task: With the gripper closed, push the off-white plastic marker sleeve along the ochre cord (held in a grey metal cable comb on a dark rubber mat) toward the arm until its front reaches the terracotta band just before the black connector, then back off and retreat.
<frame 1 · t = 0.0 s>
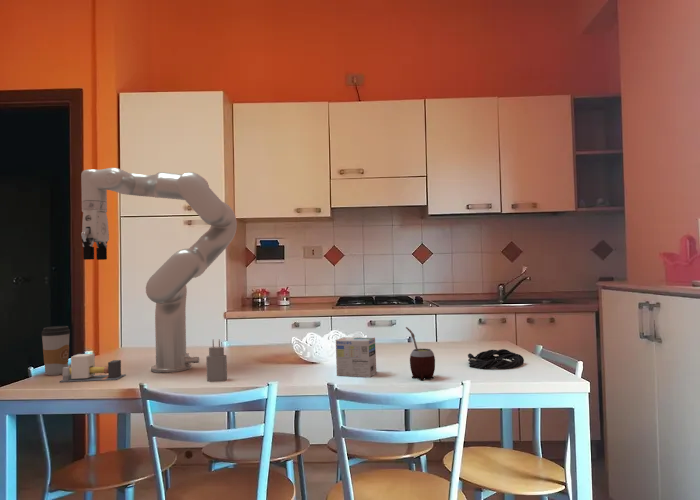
hand: (95, 259, 177), 37 cm above the table, tool pointing down, fingers open, 9 cm apart
coffee cup: (56, 374, 175), on the table
power adapter: (217, 381, 157), on the table
marker sleeve: (83, 366, 165), point 4 cm above the table, slide at 0.0 cm
light bulb box: (356, 375, 160), on the table
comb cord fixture: (91, 378, 165), on the table
mate gourd: (422, 379, 152), on the table
cable: (496, 366, 168), on the table
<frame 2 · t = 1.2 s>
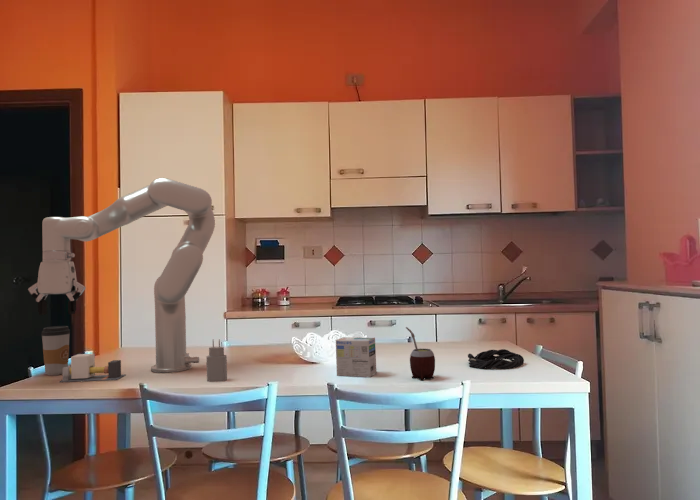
hand: (57, 314, 165), 20 cm above the table, tool pointing down, fingers open, 8 cm apart
nothing on the table moved.
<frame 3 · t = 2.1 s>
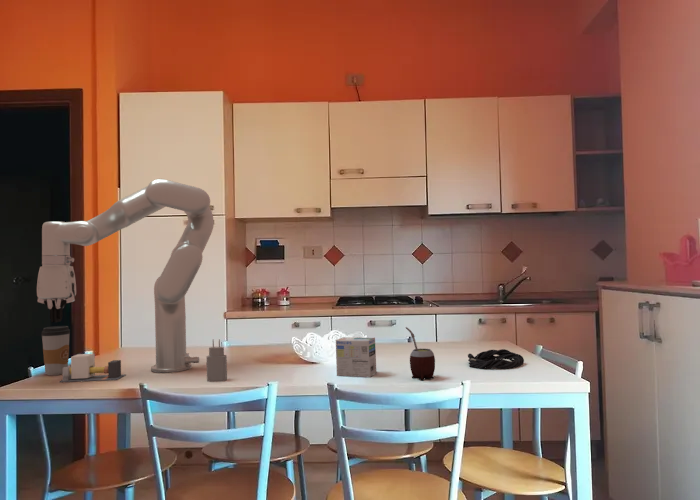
hand: (56, 321, 165), 18 cm above the table, tool pointing down, fingers closed
nothing on the table moved.
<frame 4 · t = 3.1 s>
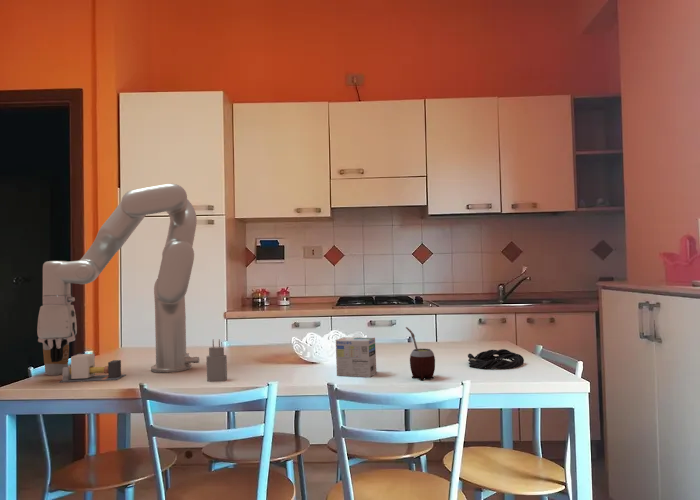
hand: (56, 361, 164), 6 cm above the table, tool pointing down, fingers closed
nothing on the table moved.
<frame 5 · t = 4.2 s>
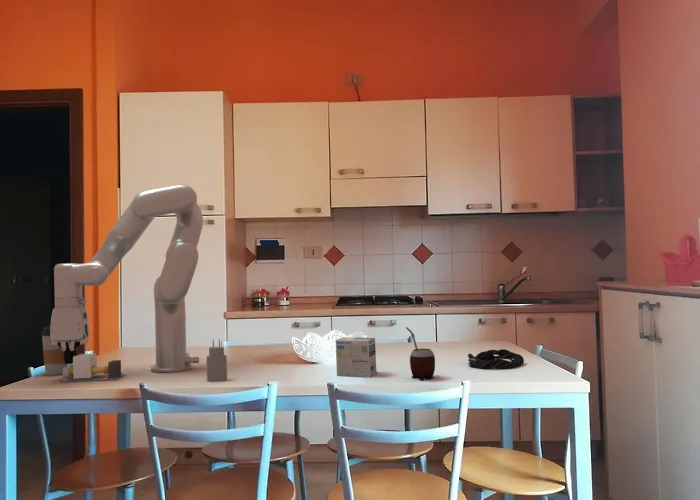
hand: (70, 363, 165), 5 cm above the table, tool pointing down, fingers closed
marker sleeve: (85, 365, 165), point 4 cm above the table, slide at 0.6 cm, touching gripper
everything else where it was.
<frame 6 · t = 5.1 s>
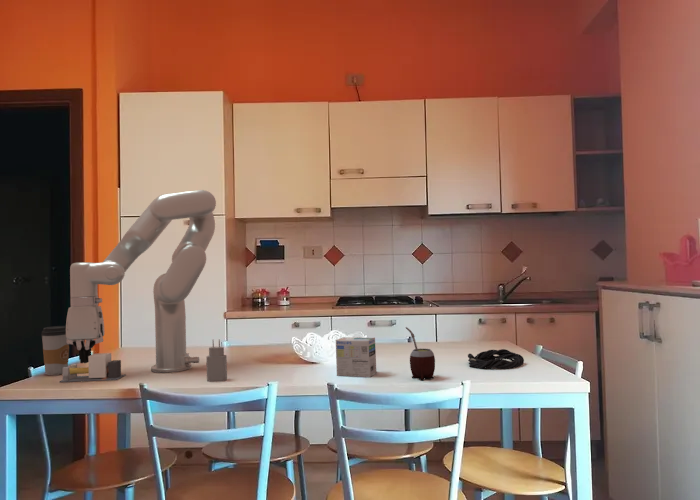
hand: (85, 362, 165), 5 cm above the table, tool pointing down, fingers closed
marker sleeve: (100, 365, 165), point 4 cm above the table, slide at 5.1 cm, touching gripper
everything else where it was.
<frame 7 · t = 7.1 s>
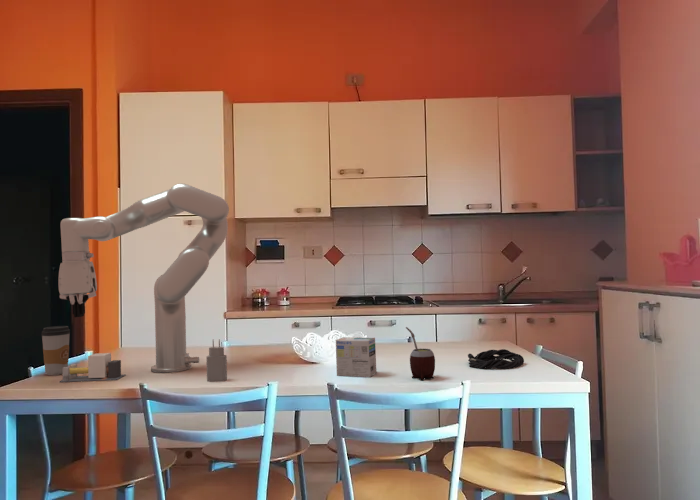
hand: (79, 316, 167), 19 cm above the table, tool pointing down, fingers closed
marker sleeve: (99, 365, 165), point 4 cm above the table, slide at 5.0 cm
everything else where it was.
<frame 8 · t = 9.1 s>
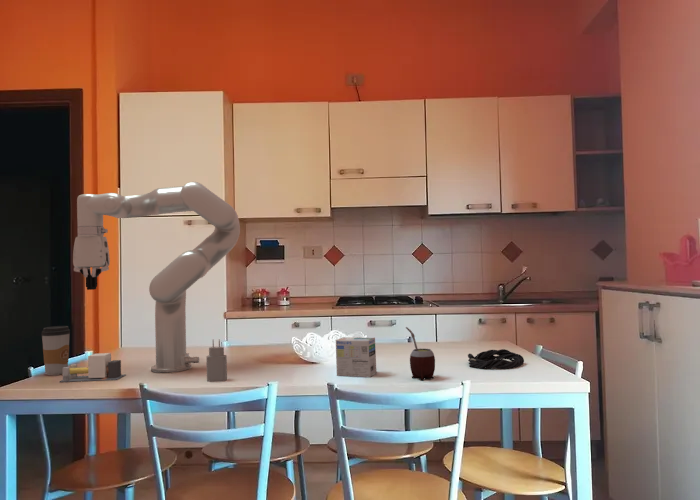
hand: (91, 289, 173), 27 cm above the table, tool pointing down, fingers closed
nothing on the table moved.
at the end: marker sleeve slide at 5.0 cm; marker sleeve moved 5.0 cm from its start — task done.
